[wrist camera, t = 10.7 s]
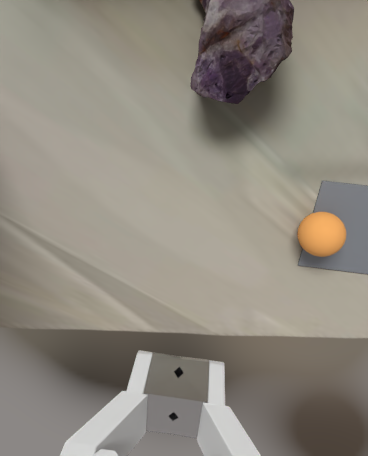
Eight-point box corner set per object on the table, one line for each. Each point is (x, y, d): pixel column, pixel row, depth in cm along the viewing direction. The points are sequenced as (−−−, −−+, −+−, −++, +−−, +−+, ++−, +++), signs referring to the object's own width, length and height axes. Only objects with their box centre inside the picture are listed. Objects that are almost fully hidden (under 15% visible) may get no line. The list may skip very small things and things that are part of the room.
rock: (183, 80, 37) (272, 93, 37) (169, 100, 30) (279, 117, 30) (196, -56, 30) (306, -42, 30) (183, -70, 23) (326, -51, 23)
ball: (351, 262, 39) (324, 243, 44) (361, 220, 37) (332, 204, 42) (309, 266, 38) (286, 246, 43) (317, 222, 36) (292, 206, 40)
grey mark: (297, 264, 45) (298, 265, 45) (322, 180, 39) (322, 181, 39) (387, 275, 44) (388, 276, 44) (425, 192, 39) (426, 192, 39)
